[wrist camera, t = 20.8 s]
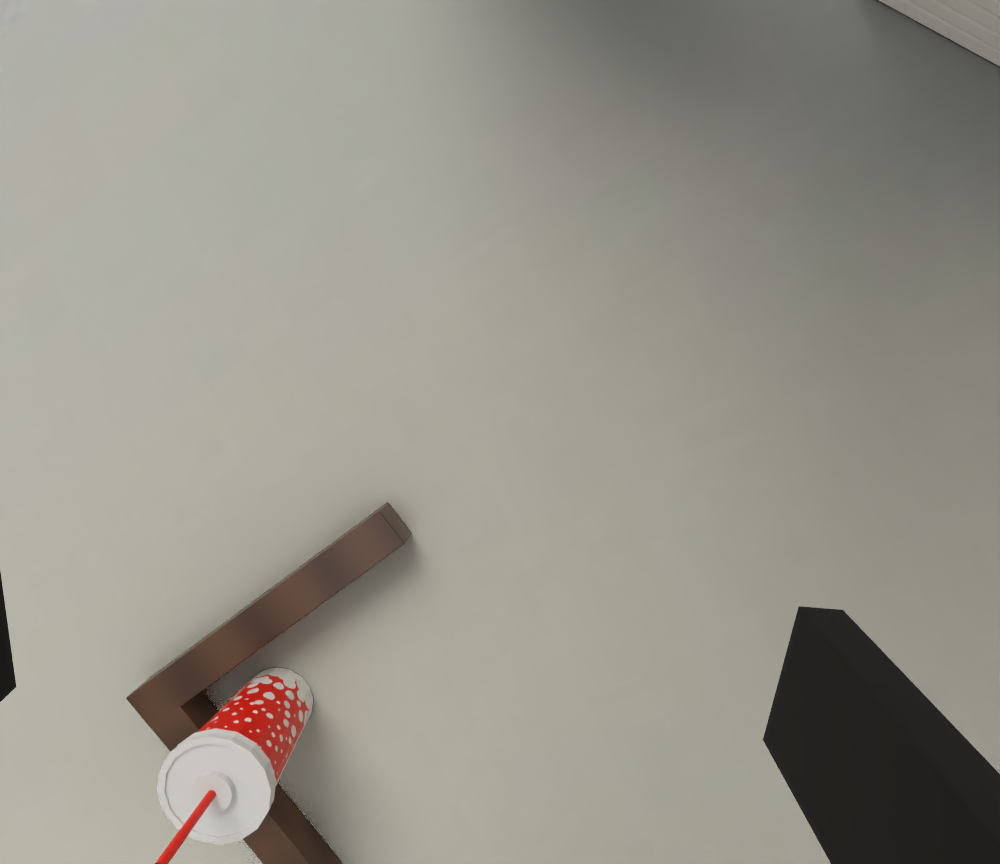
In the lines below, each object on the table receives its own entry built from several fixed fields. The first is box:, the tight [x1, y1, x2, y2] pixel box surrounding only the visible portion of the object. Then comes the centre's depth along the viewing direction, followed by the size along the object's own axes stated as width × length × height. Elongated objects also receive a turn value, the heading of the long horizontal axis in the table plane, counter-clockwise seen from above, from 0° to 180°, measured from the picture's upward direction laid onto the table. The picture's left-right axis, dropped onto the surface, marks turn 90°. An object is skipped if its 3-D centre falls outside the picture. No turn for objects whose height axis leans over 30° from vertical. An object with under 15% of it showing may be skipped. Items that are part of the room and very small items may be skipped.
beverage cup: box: [155, 667, 313, 864], centre depth 36 cm, size 6×6×14 cm
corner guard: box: [126, 502, 411, 864], centre depth 41 cm, size 16×29×2 cm, turn 172°
